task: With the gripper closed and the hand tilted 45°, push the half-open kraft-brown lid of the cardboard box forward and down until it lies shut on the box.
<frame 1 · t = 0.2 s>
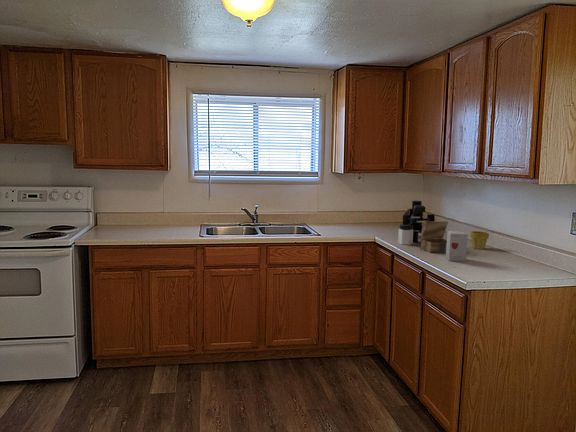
hand: (420, 221, 287), 16 cm above the worktop, tool horizontal, fingers open, 9 cm apart
plant pot: (478, 248, 295), on the worktop
cardboard box: (436, 250, 286), on the worktop
supplement box: (455, 260, 262), on the worktop
jar: (405, 244, 307), on the worktop
lid: (434, 230, 288), point 12 cm above the worktop, hinge at 65.0°
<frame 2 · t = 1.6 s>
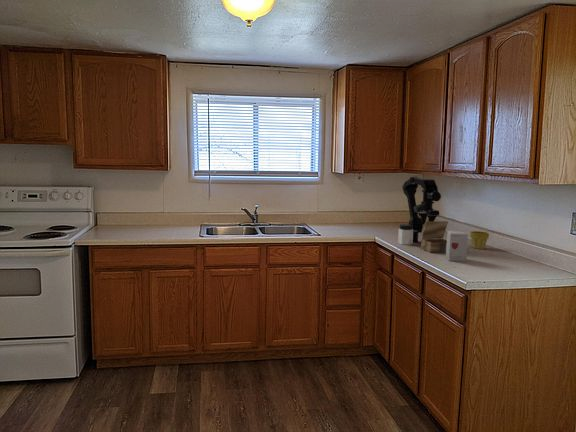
hand: (426, 225, 297), 13 cm above the worktop, tool pointing down, fingers open, 8 cm apart
nothing on the worktop moved.
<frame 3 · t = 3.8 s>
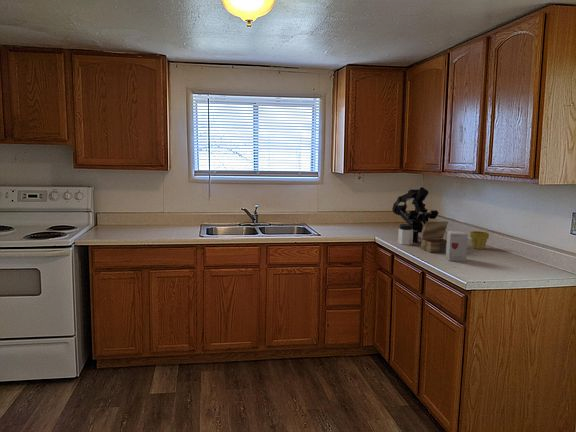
hand: (427, 225, 296), 13 cm above the worktop, tool tilted 45°, fingers closed
nothing on the worktop moved.
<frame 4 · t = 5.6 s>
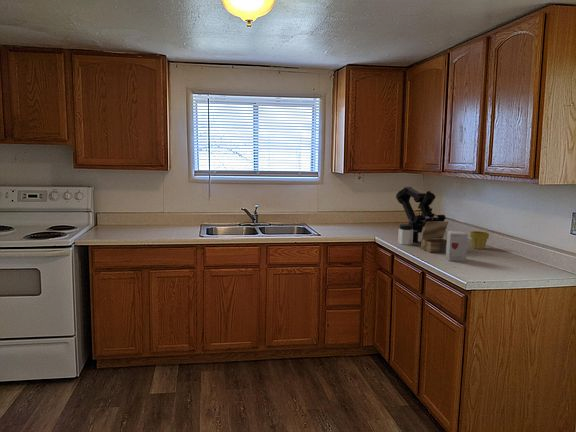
hand: (434, 230, 288), 11 cm above the worktop, tool tilted 45°, fingers closed, pressing on lid
lid: (434, 230, 288), point 12 cm above the worktop, hinge at 64.1°, touching gripper
everything else where it was.
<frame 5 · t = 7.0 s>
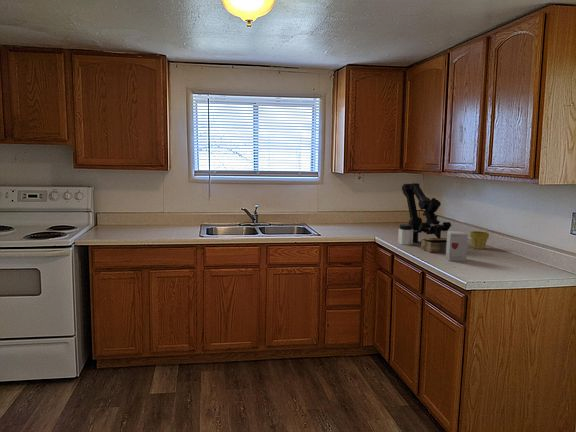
hand: (439, 238, 282), 8 cm above the worktop, tool tilted 45°, fingers closed, pressing on lid
lid: (437, 238, 285), point 7 cm above the worktop, hinge at 7.1°, touching gripper
everything else where it was.
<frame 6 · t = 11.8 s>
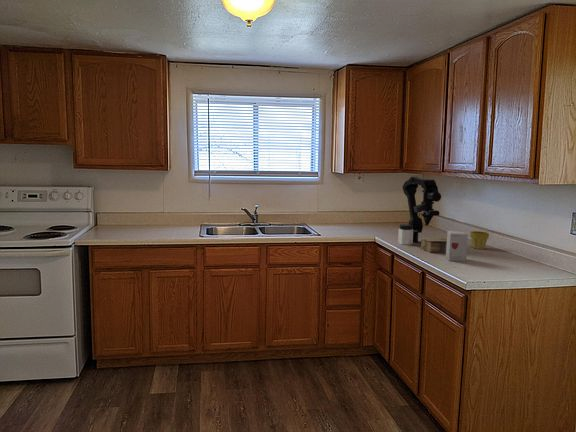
hand: (426, 225, 297), 13 cm above the worktop, tool pointing down, fingers closed
lid: (437, 239, 285), point 6 cm above the worktop, hinge at 2.1°
everything else where it was.
at the end: lid at +2° (first picture: +65°) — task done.
